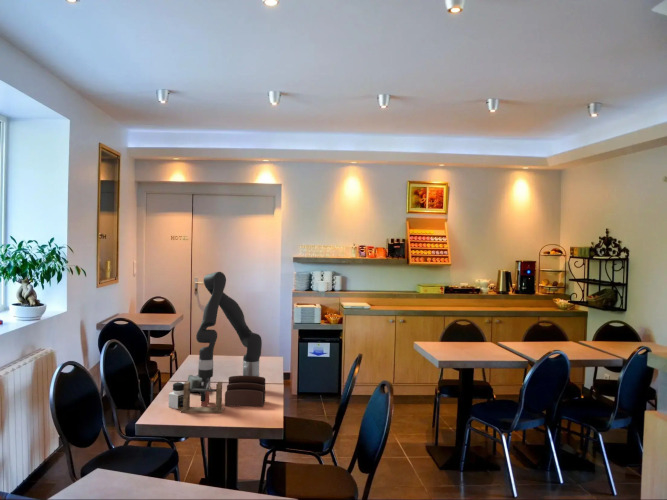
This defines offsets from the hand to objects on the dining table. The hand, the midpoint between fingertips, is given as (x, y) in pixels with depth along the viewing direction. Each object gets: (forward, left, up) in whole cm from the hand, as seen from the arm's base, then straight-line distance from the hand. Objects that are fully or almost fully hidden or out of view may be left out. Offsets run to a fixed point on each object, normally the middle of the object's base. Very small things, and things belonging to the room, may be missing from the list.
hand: (204, 398), depth 267 cm
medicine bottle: (+12, +4, -3) cm, 14 cm away
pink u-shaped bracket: (0, 0, -3) cm, 3 cm away
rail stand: (-1, +11, -3) cm, 11 cm away
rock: (+10, -28, -3) cm, 29 cm away
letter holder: (-21, -2, -3) cm, 21 cm away
